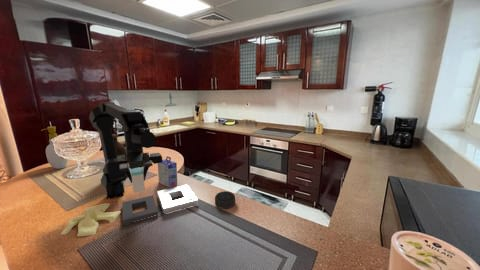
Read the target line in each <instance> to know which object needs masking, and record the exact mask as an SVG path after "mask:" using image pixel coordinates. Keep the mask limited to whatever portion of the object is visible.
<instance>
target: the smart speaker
mask: <svg viewBox="0 0 480 270" xmlns="http://www.w3.org/2000/svg"><path fill="white" fill-rule="evenodd" d="M214 204H215V206H216V207H217V206H218V207H217V208H219V207H220V208H219V209H230V208H232V207H234V206H235V204H236V195H235V194H234V193H233V192H231V191H226V190H225V191H221V192H218V193H216V194H215V197H214Z"/></svg>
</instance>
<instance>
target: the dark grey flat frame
mask: <svg viewBox="0 0 480 270" xmlns="http://www.w3.org/2000/svg"><path fill="white" fill-rule="evenodd" d="M144 206H145V207H146V209H143V210H139V211H135V212H134V211H133V209H135V208H136V209H137V208H139V207H144ZM121 207H122V211H121V214H122V226H123V225H124V226H126V224H127V225H130V224H129V223H131V222H134V221H137V220H141V219H144V218H148V217H151V216H154V215H157V214H158V215H159V210H158V208H157V205H156V200H155V197H154V195H148V196H145V197H139V198H134V199H130V200H126V201H122V206H121ZM148 219H149V218H148ZM141 221H142V220H141ZM134 223H135V222H134ZM131 224H132V223H131Z"/></svg>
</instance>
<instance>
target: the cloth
mask: <svg viewBox="0 0 480 270" xmlns="http://www.w3.org/2000/svg"><path fill="white" fill-rule="evenodd" d="M110 205H111V204H110V203H100V204H97V205H93V206H89V207H87V208H86V209H85V210H83V212H84V213H83V214H80V215H77V216H74V217H73V218H72V219H69V221H68V222H67V226H66V227H65V228H64V229H63V230H62V231H61V233H60V235H66V234H68V233H70V232H71V231H72V229H73V228H74V227H75V226H77V228H78V229H77V230H78V231H77V234H76V237H88V236H93V235H96V234H97V230H98V228H99V225H100V224H99V221H107V222H109V223H110V224H112V223H115V222H116V221H117V219H118V218H119V217H120V215H121V214H122V211H121V210H118V211H110V212H106V211H107V209H108V208H109V207H110Z"/></svg>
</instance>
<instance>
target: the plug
mask: <svg viewBox="0 0 480 270" xmlns="http://www.w3.org/2000/svg"><path fill="white" fill-rule="evenodd" d="M130 172H131V176H132V183H131V184H132V192H133V194H136V193H140V192H144V191H146V187H145V181H144V175H143V167H141V168H140V167H138V168H134V169H130Z"/></svg>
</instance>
